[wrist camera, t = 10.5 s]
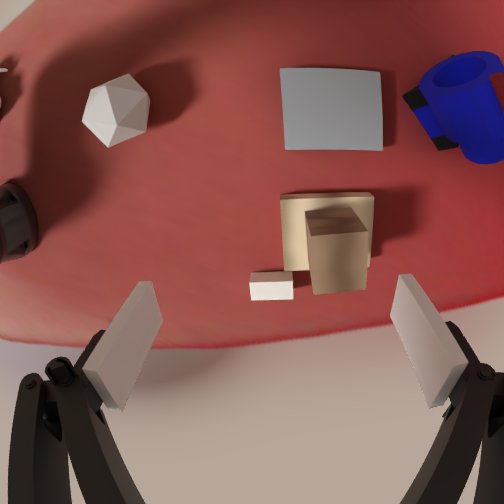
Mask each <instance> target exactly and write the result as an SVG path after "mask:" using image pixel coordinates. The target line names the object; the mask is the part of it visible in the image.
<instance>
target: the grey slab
mask: <svg viewBox="0 0 504 504" xmlns="http://www.w3.org/2000/svg"><path fill="white" fill-rule="evenodd" d="M280 80H281V93H282V107H283V122H284V139H285V150H309V149H340V150H374V151H383V115H382V93H381V78H380V72H375V71H365V70H352V69H335V68H280Z"/></svg>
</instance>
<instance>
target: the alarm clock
mask: <svg viewBox="0 0 504 504" xmlns="http://www.w3.org/2000/svg"><path fill="white" fill-rule="evenodd" d="M402 97H403V98H404V100H405V101H406V102H407V104H408V105H409V107H410V108H411V109H412V111H413V112H414V114H415V115H416V116H417V118H418V119H419V121H420V122H421V124H422V125H423V127H424V128H425V130H426V131H427V133H428V134H429V136H430V138H431V139H432V141H433V142H434V144H435V146H436V147H437V149H438V151H440V150H445V149H451V148H456V147H458V146H459V145H460V147H461V149H462V152H463V154H464V156H465V157H466V158H467V159H469V160H470V161H472V162H475V163H478V164H491V163H496V162H499V161H501V160H503V159H504V67H503V64H502V62H501V60H500V58H499V57H498V56H497V55H495V54H493V53H490V52H485V51H473V52H467V53H462V54H459V55H456V56H455V55H452V56H451V57H450V58H448V59H446V60H444V61H442V62H440V63H439V64H437V65H436V66H434V67H433V68H431V69H430V70H429V71H428V72H427V73H426V74H425V75H424V76H423V78H422V79H421V81H420V84H419V85H418V86H417V87H415V88H414V89H412V90H411V91H409V92H408V93H406V94H405V95H403V96H402Z"/></svg>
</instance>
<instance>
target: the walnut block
mask: <svg viewBox="0 0 504 504" xmlns="http://www.w3.org/2000/svg"><path fill="white" fill-rule="evenodd" d="M305 224H306V237H307V252H308V264H309V269H310V275H311V281H312V287H313V294H314V295H317V294H327V293H337V292H347V291H356V290H365V289H366V280H367V262H368V230H367V228H366V227H365V226H364V224H363V223H362V222H361V220H360V219H359V217H358V216H357V215H356V213H355V212H354V211H353V209H352V208H338V209H326V210H314V211H305Z"/></svg>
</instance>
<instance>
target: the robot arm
mask: <svg viewBox="0 0 504 504" xmlns="http://www.w3.org/2000/svg"><path fill="white" fill-rule="evenodd" d="M37 237H38V227H37V220H36V216H35V212H34V209H33V207H32V204H31V202H30V200H29V198H28V197H27V195H26V194H25V193H24V191H23V190H22V189H21V188H20V187H18V186H17V185H15V184H13V183H6V184H4V185H1V186H0V263H2V262H6V261H10V260H14V259H18V258H22V257H24V256H26V255H27V254H28V253H30V252H31V251H32V250H33V249H34V247H35V245H36V242H37ZM390 317H391V319H392V321H393V323H394V326H395V328H396V330H397V332H398V334H399V336H400V338H401V341H402V343H403V345H404V348H405V350H406V352H407V355H408V357H409V359H410V362H411V364H412V366H413V369H414V371H415V374H416V376H417V379H418V381H419V383H420V386H421V389H422V391H423V394H424V396H425V399H426V402H427V404H428V407H429V408H433V407H437V406H441V405H443V404H444V403H445V401H446V400H447V398H448V397H449V398H450V401H451V404H450V406H449V407H448V409H447V410H446V412H445V413H444V414H443V416H442V417H444V420H443V422H442V425H441V427H440V430H439V432H438V434H437V436H436V438H435V441H434V443H433V445H432V447H431V449H430V451H429V453H428V455H427V457H426V459H425V461H424V463H423V465H422V467H421V468H420V471H419V472H418V474H417V476H416V478H415V479H414V481H413V483H412V485H411V486H410V488H409V490H408V491H407V493H406V495H405V496H404V498H403V499H402V501H401V502H400V504H457V502H458V500H459V498H460V496H461V494H462V492H463V489H464V487H465V485H466V482H467V480H468V478H469V475H470V473H471V470H472V467H473V465H474V462H475V459H476V457H477V454H478V451H479V448H480V444H481V441H482V450H481V460H480V468H479V475H478V481H477V487H476V492H475V497H474V502H473V504H504V373H501V372H495V370H494V369H493V368H492V367H491V366H489V365H488V364H484V363H480V361H479V360H478V358H477V356H476V355H475V353H474V351H473V350H472V348H471V346H470V345H469V343H468V342H467V340H466V339H465V337H464V336H463V334H462V332H461V331H460V329H459V328H458V327H457V326H456V325H455V324H454V323H452V322H451V321H449V322H444V321H443V319H442V317H441V316H440V314H439V313H438V311H437V310H436V308H435V307H434V305H433V304H432V302H431V301H430V299H429V298H428V296H427V295H426V294H425V292H424V291H423V289H422V288H421V286H420V285H419V284H418V282H417V281H416V279H415V278H414V277H413V275H412V274H399V277H398V282H397V287H396V292H395V297H394V301H393V305H392V310H391V314H390ZM162 322H163V320H162V316H161V313H160V309H159V306H158V302H157V299H156V295H155V292H154V288H153V284H152V281H139V283H138V284H137V285H136V287H135V288H134V290H133V291H132V293H131V294H130V295H129V297H128V298H127V300H126V301H125V303H124V304H123V306H122V307H121V309H120V310H119V312H118V313H117V315H116V316H115V318H114V319H113V321H112V322H111V324H110V325H109V327H108V328H107V330H100V331H99V332H98V333H96V334H95V335H94V336H93V337H92V339H91V340H90V342H89V345H87V347H86V348H85V351H83V353H82V354H81V356H80V357H79V359H78V360H77V362H76V364H75V365H74V367H73V366H72V364H71V362H70V361H69V359H67V358H66V357H57V358H55V359H53V360H51V361H50V362H49V363H48V364H47V366H46V368H45V373H46V375H47V376H48V378H49V379H50V380H47V381H43V380H42V378H41V377H40V375H39V374H37V373H31V374H28V375H26V376H25V377H24V378H23V379H22V381H21V383H20V386H19V391H18V396H17V401H16V407H15V412H14V419H13V426H12V433H11V442H10V453H9V468H8V504H72V500H71V491H70V480H69V466H68V453H69V456H70V460H71V463H72V466H73V469H74V472H75V475H76V478H77V481H78V484H79V487H80V489H81V492H82V495H83V497H84V500H85V502H86V504H145V502H144V500H143V498H142V497H141V495H140V493H139V491H138V490H137V487H136V486H135V484H134V482H133V480H132V478H131V476H130V474H129V472H128V470H127V468H126V466H125V464H124V462H123V459H122V457H121V455H120V453H119V450H118V448H117V446H116V444H115V441H114V439H113V437H112V434H111V432H110V430H109V427H108V424H107V421H106V419H105V416H104V413H103V411H102V410H101V408H100V407H101V405H102V403H103V402H104V404H105V405H106V407H107V408H108V409H110V410H114V411H119V412H123V409H124V407H125V405H126V402H127V400H128V398H129V395H130V393H131V390H132V388H133V386H134V384H135V381H136V379H137V377H138V375H139V372H140V370H141V368H142V366H143V363H144V361H145V359H146V357H147V354H148V352H149V350H150V348H151V346H152V344H153V342H154V339H155V337H156V335H157V333H158V331H159V329H160V327H161V325H162Z"/></svg>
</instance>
